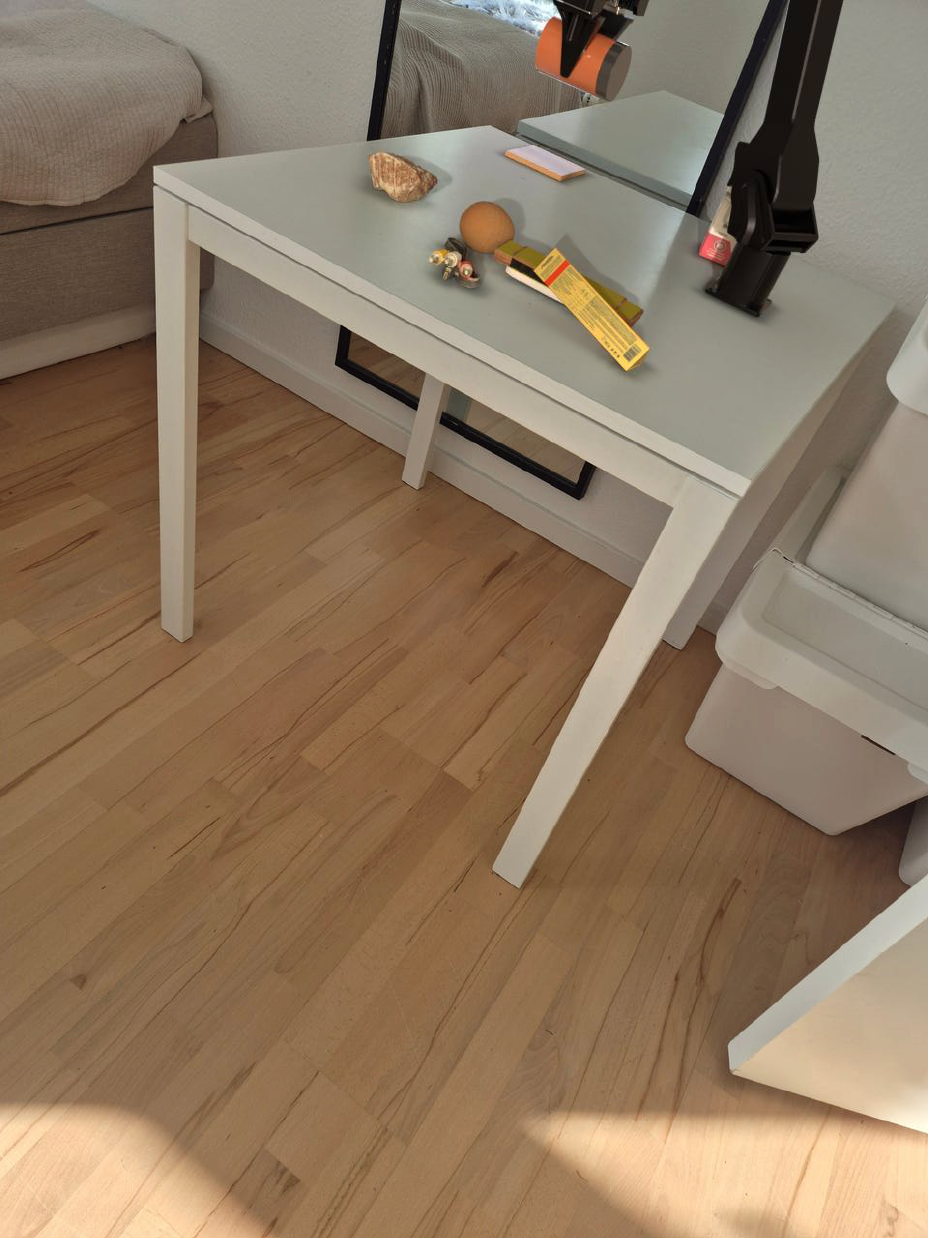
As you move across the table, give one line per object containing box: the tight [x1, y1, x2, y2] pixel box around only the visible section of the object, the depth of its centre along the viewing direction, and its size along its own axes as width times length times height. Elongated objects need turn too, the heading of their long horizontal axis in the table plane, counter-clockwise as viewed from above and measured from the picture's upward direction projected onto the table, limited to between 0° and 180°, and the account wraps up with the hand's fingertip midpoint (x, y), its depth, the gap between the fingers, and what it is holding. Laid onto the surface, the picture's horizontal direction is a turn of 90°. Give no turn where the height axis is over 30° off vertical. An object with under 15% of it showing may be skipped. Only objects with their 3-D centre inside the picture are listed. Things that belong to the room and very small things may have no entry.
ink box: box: [698, 186, 737, 267], centre depth 97 cm, size 9×5×12 cm, turn 68°
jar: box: [534, 14, 633, 103], centre depth 100 cm, size 10×6×6 cm, turn 60°
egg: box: [459, 200, 516, 254], centre depth 79 cm, size 4×4×6 cm
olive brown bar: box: [492, 240, 645, 329], centre depth 76 cm, size 15×3×2 cm, turn 60°
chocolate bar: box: [534, 247, 651, 372], centre depth 71 cm, size 3×12×2 cm
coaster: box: [504, 144, 587, 182], centre depth 110 cm, size 8×8×1 cm
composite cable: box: [428, 236, 481, 289], centre depth 75 cm, size 10×5×2 cm, turn 169°
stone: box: [367, 151, 439, 204], centre depth 84 cm, size 7×6×5 cm
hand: (574, 75), depth 102 cm, fingers closed on jar, 6 cm apart
